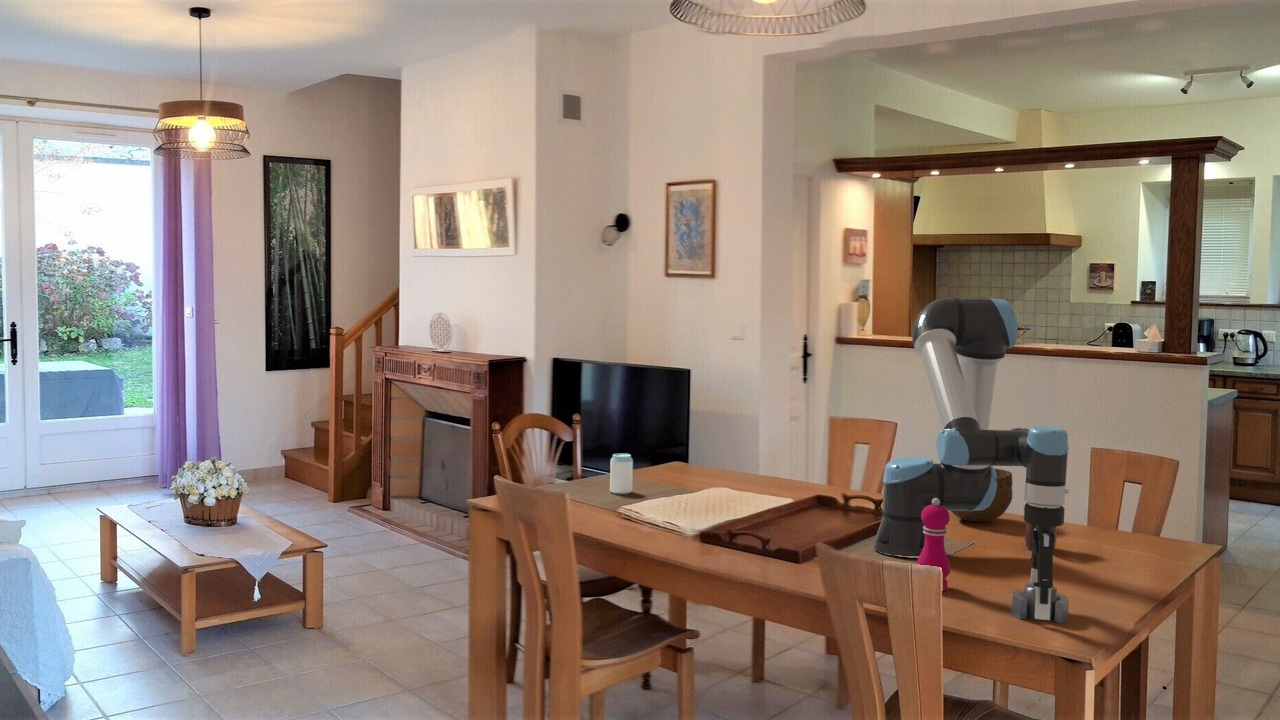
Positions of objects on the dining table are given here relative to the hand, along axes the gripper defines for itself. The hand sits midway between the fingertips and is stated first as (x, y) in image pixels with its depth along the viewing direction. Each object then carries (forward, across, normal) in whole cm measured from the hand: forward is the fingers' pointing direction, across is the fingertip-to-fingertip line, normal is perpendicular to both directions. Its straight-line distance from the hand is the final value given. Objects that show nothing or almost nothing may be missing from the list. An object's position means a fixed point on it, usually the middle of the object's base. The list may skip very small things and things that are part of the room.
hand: (1039, 609), depth 208 cm
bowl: (+2, +84, +10) cm, 85 cm away
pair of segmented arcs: (+1, 0, 0) cm, 1 cm away
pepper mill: (+2, +13, +21) cm, 25 cm away
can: (+2, +85, +116) cm, 144 cm away
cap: (+1, 0, 0) cm, 1 cm away
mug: (+2, +56, -5) cm, 56 cm away
